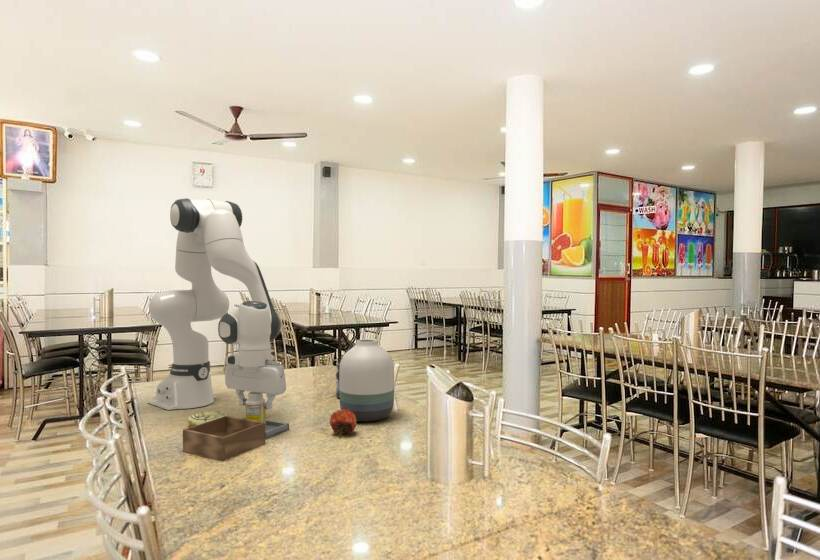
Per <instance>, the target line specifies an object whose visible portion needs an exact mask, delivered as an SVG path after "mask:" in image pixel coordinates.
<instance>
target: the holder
mask: <svg viewBox="0 0 820 560" xmlns="http://www.w3.org/2000/svg"><path fill="white" fill-rule="evenodd" d="M242 418H243V417H242ZM242 418H241V417H235V416H230V415H226V416H224V417H221V418H218V419H214V420H211V421H208V422H205V423H202V424H199V425H196V426H193V427H190V426H189V427H188V428H187V427H186V428H184V429H182V452H183V451H184V452H185V453H188V454H193V455H196V456H200V455H201V456H200V457H205V458H209V459H213V460H217V461H222V462H224V461H227V460H229V459H231V458H233V457H236V456H238V455H241V454H244V453H246V452H249V451H251V450H253V449H255V448H258V447H260V446H263V445H265V444H266V440H265V423H264V422H258V421H253V420H247V419H242ZM184 452H183V453H184Z"/></svg>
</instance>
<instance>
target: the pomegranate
mask: <svg viewBox="0 0 820 560" xmlns="http://www.w3.org/2000/svg"><path fill="white" fill-rule="evenodd" d="M329 426H330V427H331V428H332V431H333V432H334V433H335V434H339V440H340V439H341V436H342V434H346V435H347V434H351V433H353V432H354V431H355V429H356V426H357V421H356V417H355V414H354V413H353V412H352V411H349V410H348V409H346V408H345V409H342V410H341V409H339V410H336V411H333V412H332V413H331V415H330V418H329Z"/></svg>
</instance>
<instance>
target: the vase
mask: <svg viewBox="0 0 820 560" xmlns="http://www.w3.org/2000/svg"><path fill="white" fill-rule="evenodd" d="M339 363H340V369H339V393H340V399H339V407H340V410H342V409H345V408H346V409H348V410H349V411H352V412H353V413H354V414H355V417H356V422H375V421H380V420H383V419H385V418H387V417H389V415H390V414H391V413H392V411H393V408H394V405H395V364H394V360H393V357H392V356H391V355H390V353H389V352H388V351H387V350H386V349H385V348H383V347H382V346H380V345H379V343H378V340H377V339H375V338H374V339H373V338H363V339H357V340H356V343H355V345H354V346H352V347H351V348H350V349H348V350H347V352H346V353H344V354H343V355H342V357H341V359H340V362H339Z"/></svg>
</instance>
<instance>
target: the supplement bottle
mask: <svg viewBox="0 0 820 560" xmlns="http://www.w3.org/2000/svg"><path fill="white" fill-rule="evenodd" d="M263 394H264V393H257V392H250V391H248V393H247V400H246V402H245V405H244V406H245V408H244V409H245V410H244V411H245V413H244V414H245V417H246V419H247V420H253V421H258V422H264V423H265V427H266V420H267V419H266V418H267V412H266V410H267V409H264V403H266V402H267V400H266V398H264V395H263Z"/></svg>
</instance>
